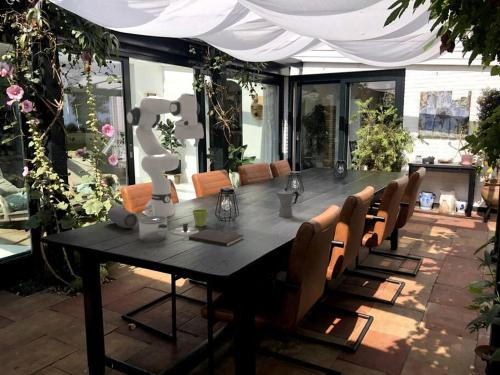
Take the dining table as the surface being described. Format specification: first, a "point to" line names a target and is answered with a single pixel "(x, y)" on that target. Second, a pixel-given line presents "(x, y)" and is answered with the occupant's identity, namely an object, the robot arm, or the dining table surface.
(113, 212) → the bluetooth speaker
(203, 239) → the hardcover book
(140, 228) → the cooker
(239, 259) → the dining table surface
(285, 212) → the coffeepot
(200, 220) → the plant pot
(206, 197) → the dining table surface
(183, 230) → the lid
